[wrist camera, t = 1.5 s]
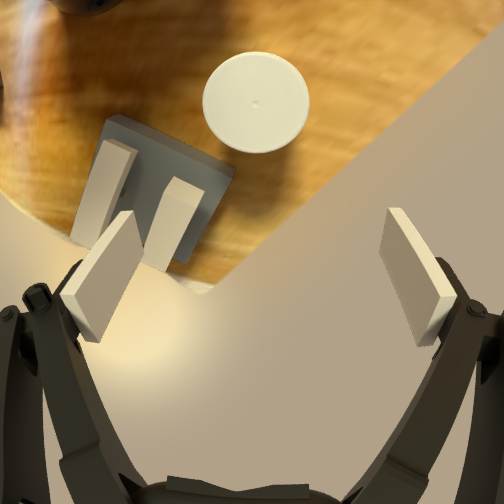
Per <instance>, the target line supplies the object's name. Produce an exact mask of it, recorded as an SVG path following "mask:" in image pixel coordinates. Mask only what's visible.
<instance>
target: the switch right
mask: <svg viewBox="0 0 504 504" xmlns="http://www.w3.org/2000/svg"><path fill="white" fill-rule="evenodd" d="M204 192H205V191H203V190H201V189H199V188H197V187H195V186H193V185H191V184H189V183H187V182H185V181H183V180H181V179H179V178H176V177H173V178H172V180H171V181H170V183H169V184H168V186H167V188H166V189H165V191H164V193H163V195H162V198H161V201H160V203H159V206H158V209H157V211H156V214H155V217H154V220H153V222H152V225H151V228H150V231H149V234H148V237H147V240H146V242H145V245H144V248H143V250H144V255H143V257H142V259H141V262H143V263H145V264H147V265H149V266H151V267H153V268H155V269H158V270H160V271H162V272H164V273H165V271H166V269H167V267H168V265H169V263H170V261H171V259H172V257H173V254H174V252H175V250H176V248H177V246H178V244H179V242H180V240H181V238H182V236H183V234H184V232H185V230H186V228H187V226H188V224H189V222H190V220H191V218H192V216H193V214H194V212H195V210H196V208H197V206H198V204H199V202H200V200H201V198H202V196H203V194H204Z"/></svg>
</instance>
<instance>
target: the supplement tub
mask: <svg viewBox="0 0 504 504" xmlns="http://www.w3.org/2000/svg"><path fill="white" fill-rule="evenodd" d="M309 104H310V103H309V93H308V89H307V86H306V83H305V81H304V79H303V77H302V76H301V74H300V73H299V72H298V70H297V69H296V68H295V67H294V66H293V65H291V64H290V63H289V62H288V61H286V60H285V59H283V58H281V57H279V56H276V55H274V54H270V53H266V52H246V53H242V54H238V55H236V56H233V57H231V58H229V59H228V60H226V61H225V62H223V63H222V64H221V65H220V66H219V67H218V68H217V69H216V70H215V71H214V72H213V73H212V75H211V76H210V78H209V80H208V82H207V84H206V86H205V89H204V93H203V101H202V105H203V113H204V117H205V120H206V122H207V124H208V126H209V128H210V129H211V131H212V132H213V133H214V135H215V136H216V137H217V138H218V139H219V140H221V141H222V142H223V143H224V144H226V145H228V146H229V147H231V148H234V149H236V150H239V151H242V152H246V153H267V152H271V151H274V150H277V149H280V148H282V147H284V146H285V145H287V144H288V143H290V142H291V141H292V140H293V139H294V138H295V137H296V136H297V135H298V134H299V133H300V132H301V130H302V129H303V127H304V125H305V123H306V120H307V117H308V113H309Z"/></svg>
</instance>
